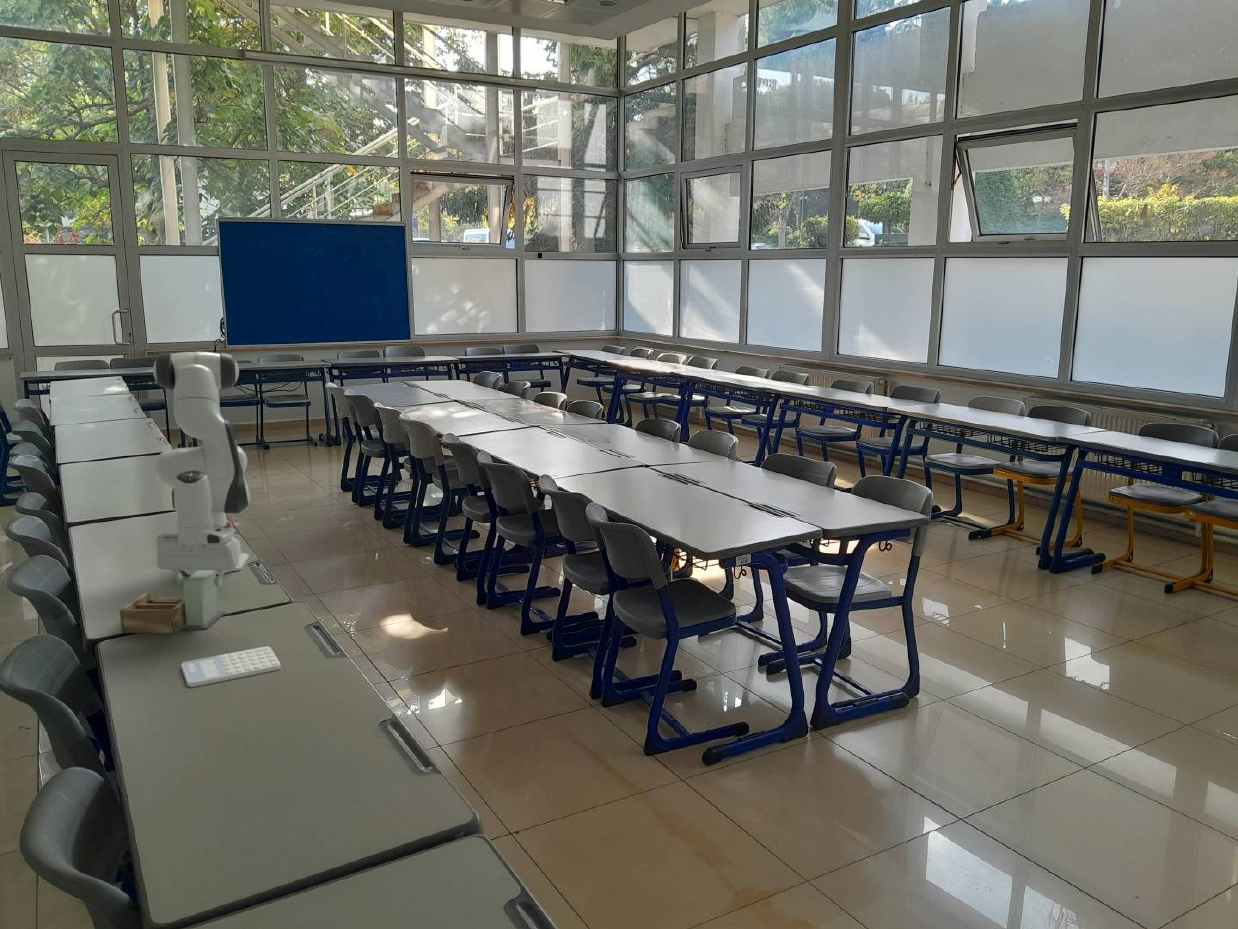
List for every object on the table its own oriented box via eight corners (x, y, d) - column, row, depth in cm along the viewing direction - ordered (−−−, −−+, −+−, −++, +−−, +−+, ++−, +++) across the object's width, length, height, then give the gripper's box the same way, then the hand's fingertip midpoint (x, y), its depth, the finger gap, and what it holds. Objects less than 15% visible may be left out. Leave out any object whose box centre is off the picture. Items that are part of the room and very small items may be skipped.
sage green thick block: (186, 625, 238) (182, 581, 235) (201, 612, 247) (198, 570, 244) (204, 625, 238) (200, 581, 235) (218, 613, 247) (215, 570, 244)
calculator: (282, 671, 213) (281, 663, 213) (188, 690, 203) (187, 682, 202) (270, 651, 224) (269, 644, 224) (180, 668, 214) (180, 661, 213)
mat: (199, 612, 248) (199, 611, 248) (225, 613, 248) (225, 611, 248) (179, 629, 236) (179, 627, 236) (206, 629, 236) (206, 627, 236)
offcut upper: (160, 606, 245) (159, 597, 245) (182, 606, 245) (181, 597, 245) (153, 610, 242) (152, 601, 241) (176, 610, 242) (175, 602, 241)
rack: (148, 613, 247) (146, 592, 246) (199, 613, 247) (197, 592, 246) (121, 632, 234) (119, 610, 232) (175, 633, 234) (173, 610, 233)
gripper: (149, 537, 234) (154, 588, 237) (229, 537, 234) (233, 589, 237) (161, 530, 240) (166, 580, 243) (239, 531, 241) (243, 581, 243)
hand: (200, 584), depth 240 cm, fingers open, 8 cm apart
